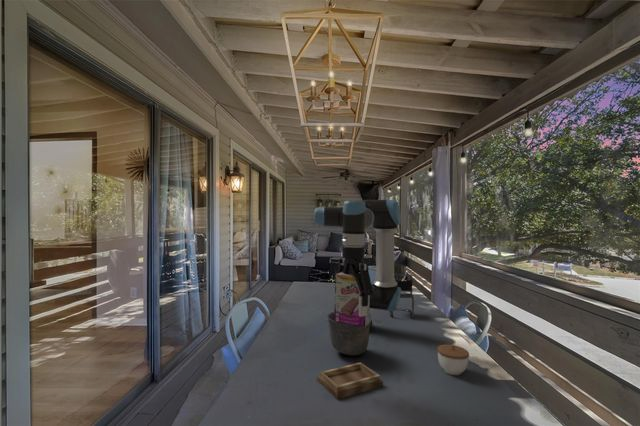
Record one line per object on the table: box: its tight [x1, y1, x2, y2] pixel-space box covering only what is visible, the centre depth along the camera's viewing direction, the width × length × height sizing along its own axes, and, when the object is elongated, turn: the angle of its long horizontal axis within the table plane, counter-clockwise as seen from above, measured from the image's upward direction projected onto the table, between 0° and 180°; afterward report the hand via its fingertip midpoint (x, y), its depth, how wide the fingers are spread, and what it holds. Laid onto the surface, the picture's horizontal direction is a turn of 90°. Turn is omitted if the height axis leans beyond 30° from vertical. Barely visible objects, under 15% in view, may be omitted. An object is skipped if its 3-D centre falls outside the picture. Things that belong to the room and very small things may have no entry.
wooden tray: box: [316, 361, 384, 400], centre depth 109 cm, size 18×13×3 cm
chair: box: [389, 273, 415, 319], centre depth 189 cm, size 13×17×22 cm
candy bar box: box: [333, 273, 371, 327], centre depth 109 cm, size 11×5×16 cm, turn 65°
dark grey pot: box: [326, 311, 373, 357], centre depth 133 cm, size 18×18×15 cm
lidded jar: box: [437, 344, 470, 376], centre depth 119 cm, size 11×11×9 cm
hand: (351, 310), depth 109 cm, fingers closed on candy bar box, 11 cm apart
